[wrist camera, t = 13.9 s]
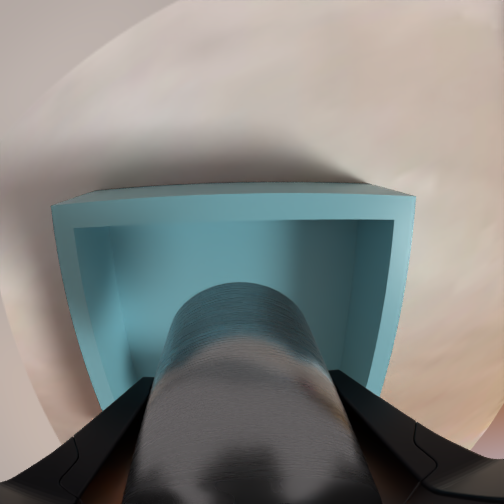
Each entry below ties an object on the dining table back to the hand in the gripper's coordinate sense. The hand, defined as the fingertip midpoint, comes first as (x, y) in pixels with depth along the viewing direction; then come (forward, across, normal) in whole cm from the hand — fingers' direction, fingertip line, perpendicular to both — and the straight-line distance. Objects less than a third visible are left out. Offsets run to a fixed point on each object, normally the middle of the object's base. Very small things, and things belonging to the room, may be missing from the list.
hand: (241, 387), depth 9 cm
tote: (+9, 0, +4) cm, 10 cm away
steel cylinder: (+2, 0, 0) cm, 2 cm away
